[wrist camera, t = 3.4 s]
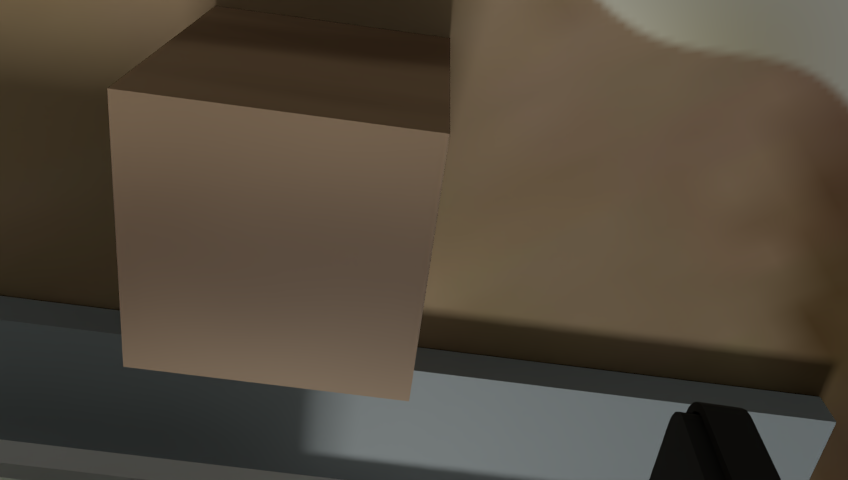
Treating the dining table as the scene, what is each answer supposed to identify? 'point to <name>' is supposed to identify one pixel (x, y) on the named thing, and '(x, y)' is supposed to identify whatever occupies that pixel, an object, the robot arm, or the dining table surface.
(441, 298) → the dining table surface
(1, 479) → the shallow sage tray
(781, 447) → the track
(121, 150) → the walnut block
